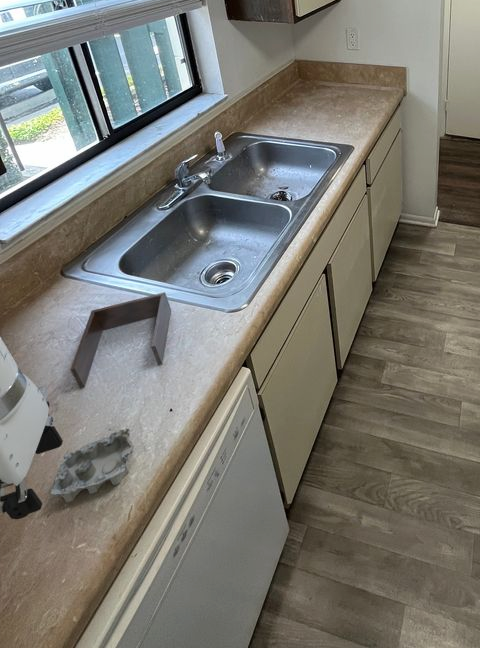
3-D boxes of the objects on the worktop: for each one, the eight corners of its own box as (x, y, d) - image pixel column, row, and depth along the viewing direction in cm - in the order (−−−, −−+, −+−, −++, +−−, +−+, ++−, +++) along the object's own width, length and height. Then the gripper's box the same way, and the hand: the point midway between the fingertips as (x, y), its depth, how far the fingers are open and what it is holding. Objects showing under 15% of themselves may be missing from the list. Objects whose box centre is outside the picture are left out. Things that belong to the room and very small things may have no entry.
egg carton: (138, 438, 80) (132, 425, 79) (127, 485, 74) (120, 472, 72) (71, 457, 78) (63, 444, 76) (54, 508, 71) (45, 495, 69)
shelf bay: (80, 388, 89) (70, 369, 86) (99, 328, 102) (91, 310, 99) (162, 364, 93) (155, 345, 91) (171, 309, 106) (165, 291, 103)
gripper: (-18, 346, 59) (32, 424, 66) (-104, 494, 44) (-27, 573, 52) (48, 329, 61) (89, 406, 69) (-13, 465, 46) (48, 545, 54)
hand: (39, 477), depth 60 cm, fingers open, 7 cm apart
